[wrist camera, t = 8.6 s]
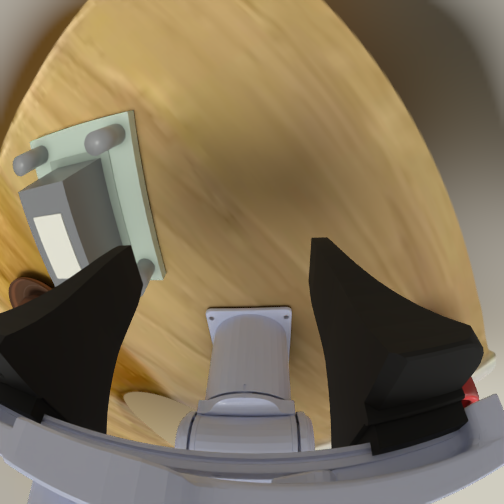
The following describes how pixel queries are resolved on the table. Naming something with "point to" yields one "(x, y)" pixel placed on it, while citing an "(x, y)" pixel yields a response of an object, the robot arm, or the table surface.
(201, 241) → the table surface
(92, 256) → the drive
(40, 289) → the cup and saucer
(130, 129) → the tray
